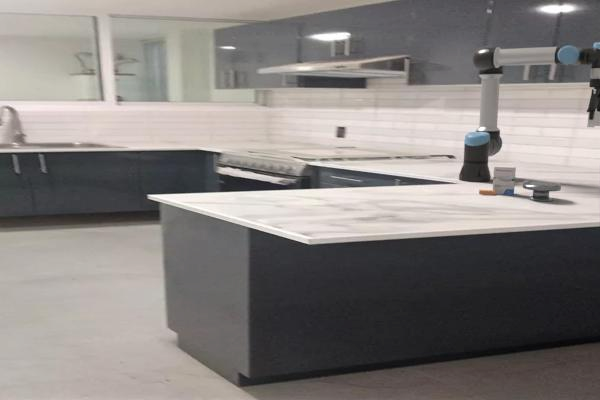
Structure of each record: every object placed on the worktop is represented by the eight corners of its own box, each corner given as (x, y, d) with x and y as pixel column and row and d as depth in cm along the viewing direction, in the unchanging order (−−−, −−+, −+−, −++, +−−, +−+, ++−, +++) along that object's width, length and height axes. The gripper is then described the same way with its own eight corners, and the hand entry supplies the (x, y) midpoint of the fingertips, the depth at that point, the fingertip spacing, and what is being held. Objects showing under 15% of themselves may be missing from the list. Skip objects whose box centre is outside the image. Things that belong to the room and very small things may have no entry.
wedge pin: (479, 195, 227) (479, 190, 227) (478, 194, 230) (479, 189, 229) (494, 196, 226) (494, 191, 225) (493, 195, 228) (494, 190, 228)
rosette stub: (517, 199, 216) (518, 182, 215) (527, 194, 227) (529, 178, 225) (554, 204, 207) (556, 186, 206) (563, 198, 218) (565, 181, 217)
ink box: (514, 193, 230) (516, 166, 227) (513, 195, 225) (515, 167, 223) (493, 192, 233) (495, 165, 231) (492, 194, 229) (494, 166, 226)
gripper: (603, 77, 225) (597, 128, 229) (614, 78, 244) (609, 125, 248) (583, 77, 230) (578, 127, 234) (596, 79, 249) (591, 125, 253)
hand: (594, 126), depth 241 cm, fingers open, 13 cm apart
